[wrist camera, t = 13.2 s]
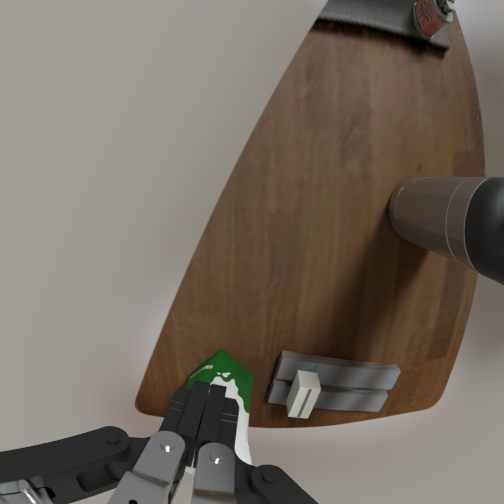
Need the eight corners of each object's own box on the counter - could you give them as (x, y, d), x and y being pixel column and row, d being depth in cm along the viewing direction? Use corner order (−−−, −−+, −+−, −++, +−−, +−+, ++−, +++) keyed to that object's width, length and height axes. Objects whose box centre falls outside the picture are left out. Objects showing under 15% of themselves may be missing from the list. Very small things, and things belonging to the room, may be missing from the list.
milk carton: (224, 402, 44) (206, 498, 25) (184, 369, 43) (144, 463, 24) (262, 376, 43) (259, 479, 23) (221, 340, 41) (192, 441, 22)
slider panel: (396, 364, 41) (401, 371, 39) (375, 403, 43) (379, 411, 41) (282, 350, 41) (282, 358, 39) (268, 394, 43) (268, 403, 41)
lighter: (433, 42, 30) (464, 18, 20) (416, 35, 30) (445, 9, 20) (426, 8, 28) (452, -18, 18) (409, 1, 28) (434, -26, 18)
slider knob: (315, 368, 40) (321, 389, 35) (304, 397, 42) (307, 419, 37) (296, 365, 40) (300, 387, 35) (286, 394, 42) (288, 416, 37)
